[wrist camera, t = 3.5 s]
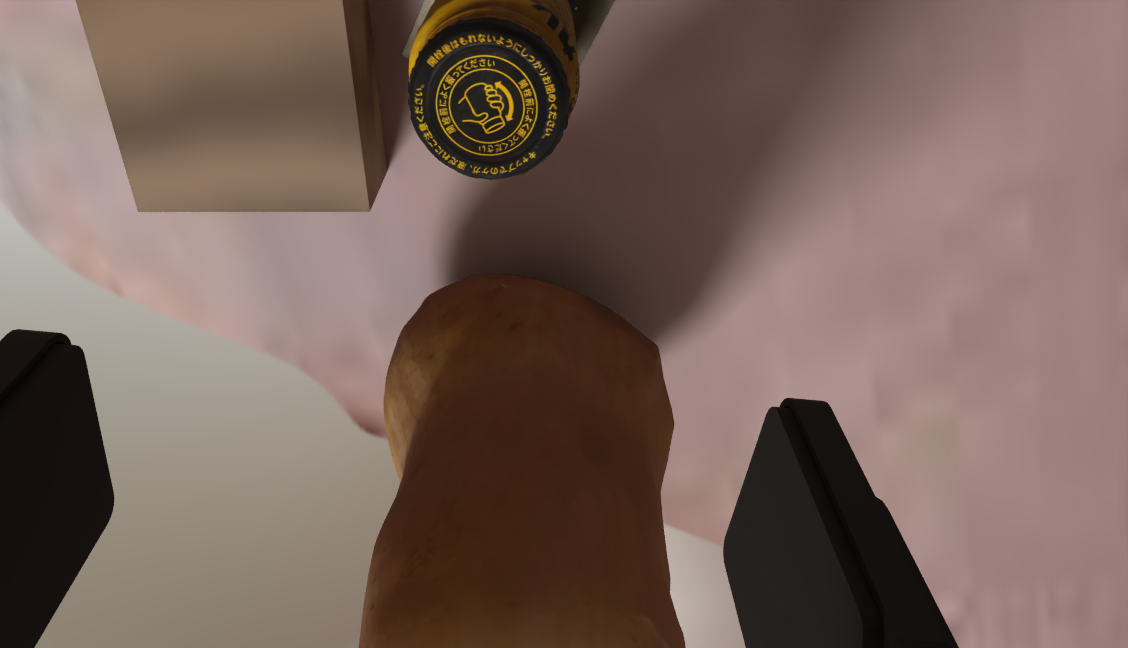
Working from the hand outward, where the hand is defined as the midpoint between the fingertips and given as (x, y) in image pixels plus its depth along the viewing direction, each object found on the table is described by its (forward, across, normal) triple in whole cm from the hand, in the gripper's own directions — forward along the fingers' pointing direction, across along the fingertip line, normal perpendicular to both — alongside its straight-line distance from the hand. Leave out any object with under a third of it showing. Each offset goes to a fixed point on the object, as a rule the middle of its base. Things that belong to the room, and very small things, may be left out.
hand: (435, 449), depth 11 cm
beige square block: (+29, +10, +4) cm, 31 cm away
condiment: (+29, -1, 0) cm, 29 cm away
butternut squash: (+29, -3, +17) cm, 34 cm away
